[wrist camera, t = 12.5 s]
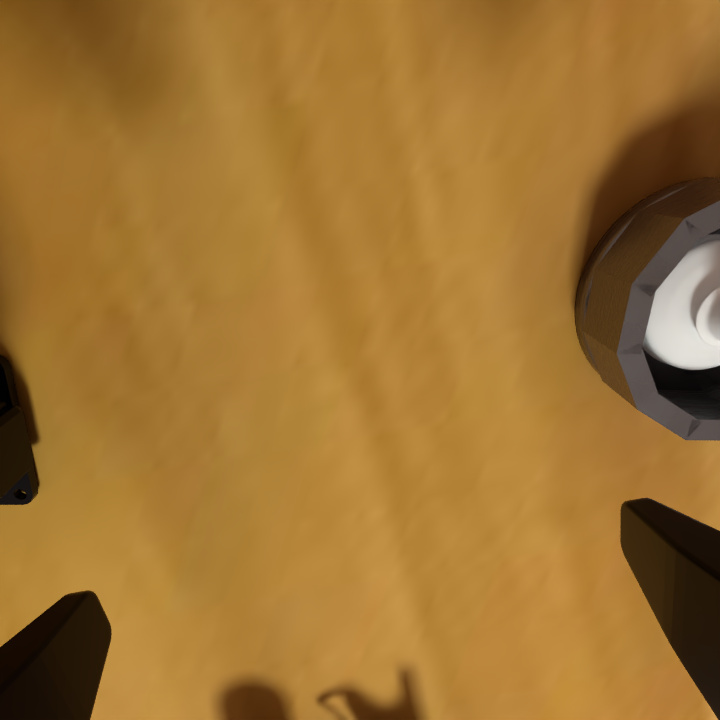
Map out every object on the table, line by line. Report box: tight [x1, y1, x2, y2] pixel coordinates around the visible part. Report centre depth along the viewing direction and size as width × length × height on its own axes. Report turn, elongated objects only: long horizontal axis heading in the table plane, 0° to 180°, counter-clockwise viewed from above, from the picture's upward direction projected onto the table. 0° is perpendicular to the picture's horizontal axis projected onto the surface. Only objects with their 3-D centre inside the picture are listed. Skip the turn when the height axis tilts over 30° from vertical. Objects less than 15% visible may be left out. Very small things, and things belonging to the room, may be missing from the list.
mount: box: [575, 178, 720, 440], centre depth 18 cm, size 9×9×4 cm
